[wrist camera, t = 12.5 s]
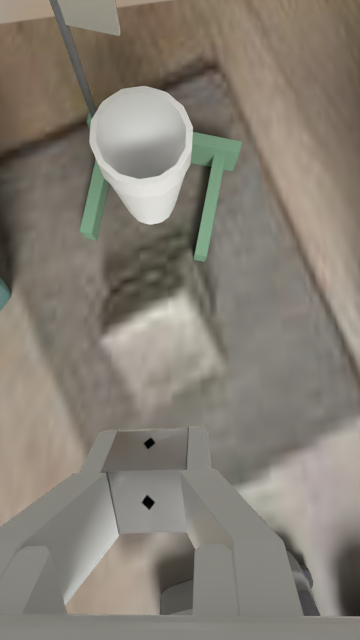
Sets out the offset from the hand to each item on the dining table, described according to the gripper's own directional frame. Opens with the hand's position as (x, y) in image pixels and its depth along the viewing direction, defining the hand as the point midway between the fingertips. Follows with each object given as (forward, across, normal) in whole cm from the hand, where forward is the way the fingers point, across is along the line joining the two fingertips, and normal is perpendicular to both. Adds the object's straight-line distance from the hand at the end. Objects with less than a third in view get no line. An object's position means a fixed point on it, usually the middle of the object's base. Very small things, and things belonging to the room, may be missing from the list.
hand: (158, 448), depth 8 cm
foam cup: (+36, +4, -10) cm, 37 cm away
